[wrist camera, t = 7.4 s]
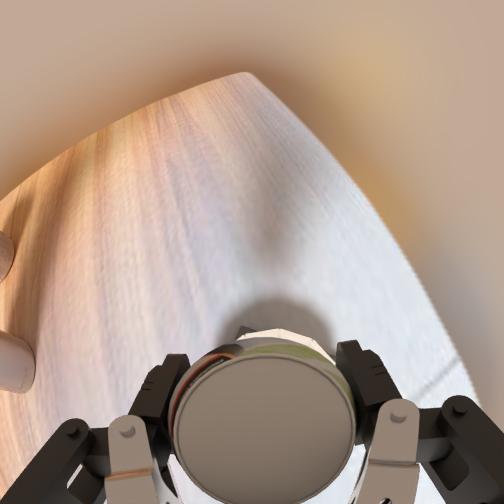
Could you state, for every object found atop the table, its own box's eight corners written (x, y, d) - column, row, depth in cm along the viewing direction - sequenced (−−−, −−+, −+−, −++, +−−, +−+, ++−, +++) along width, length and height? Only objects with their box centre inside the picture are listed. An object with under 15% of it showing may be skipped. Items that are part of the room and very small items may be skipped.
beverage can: (247, 336, 19) (204, 253, 8) (336, 392, 16) (420, 384, 6) (193, 405, 17) (82, 406, 6) (281, 465, 14) (282, 557, 4)
